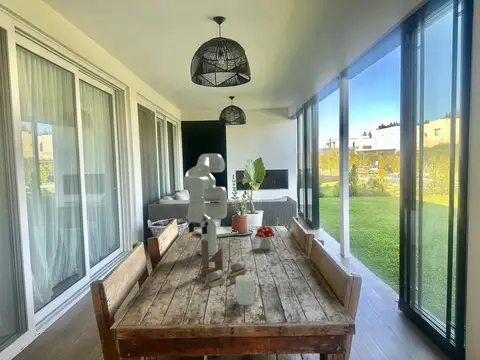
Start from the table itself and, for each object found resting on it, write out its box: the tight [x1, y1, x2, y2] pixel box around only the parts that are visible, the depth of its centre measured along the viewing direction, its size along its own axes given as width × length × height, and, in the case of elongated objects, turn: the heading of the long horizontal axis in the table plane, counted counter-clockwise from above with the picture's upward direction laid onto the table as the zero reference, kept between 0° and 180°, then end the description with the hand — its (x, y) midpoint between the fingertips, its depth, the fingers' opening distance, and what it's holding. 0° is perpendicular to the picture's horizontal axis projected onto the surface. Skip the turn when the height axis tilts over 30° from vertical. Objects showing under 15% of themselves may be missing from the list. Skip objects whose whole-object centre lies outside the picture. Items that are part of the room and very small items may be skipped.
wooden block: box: [200, 239, 224, 277], centre depth 178 cm, size 4×11×18 cm, turn 84°
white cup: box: [235, 274, 256, 306], centre depth 142 cm, size 8×8×10 cm
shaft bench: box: [204, 260, 248, 288], centre depth 171 cm, size 10×26×6 cm, turn 142°
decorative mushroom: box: [254, 225, 276, 251], centre depth 229 cm, size 14×14×15 cm
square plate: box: [194, 226, 239, 238], centre depth 277 cm, size 27×27×4 cm
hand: (198, 232), depth 184 cm, fingers open, 9 cm apart
